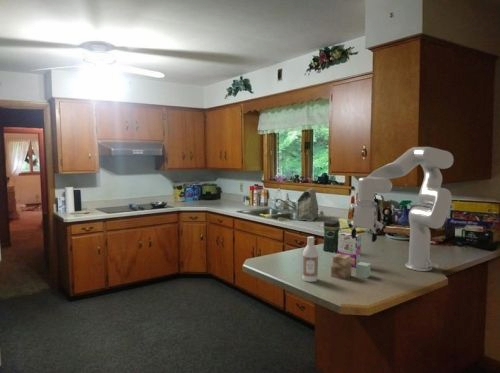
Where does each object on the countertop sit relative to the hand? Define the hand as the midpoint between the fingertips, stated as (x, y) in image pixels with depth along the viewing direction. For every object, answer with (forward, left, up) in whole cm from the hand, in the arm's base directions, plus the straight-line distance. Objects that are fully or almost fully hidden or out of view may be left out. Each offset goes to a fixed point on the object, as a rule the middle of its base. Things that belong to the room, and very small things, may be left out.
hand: (363, 239), depth 174 cm
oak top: (+8, +7, -13) cm, 16 cm away
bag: (+98, -118, -18) cm, 155 cm away
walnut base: (+8, +7, -18) cm, 21 cm away
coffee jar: (+33, -33, -18) cm, 50 cm away
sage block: (0, 0, -18) cm, 18 cm away
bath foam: (+17, +21, -18) cm, 32 cm away
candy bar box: (+13, -13, -18) cm, 26 cm away
